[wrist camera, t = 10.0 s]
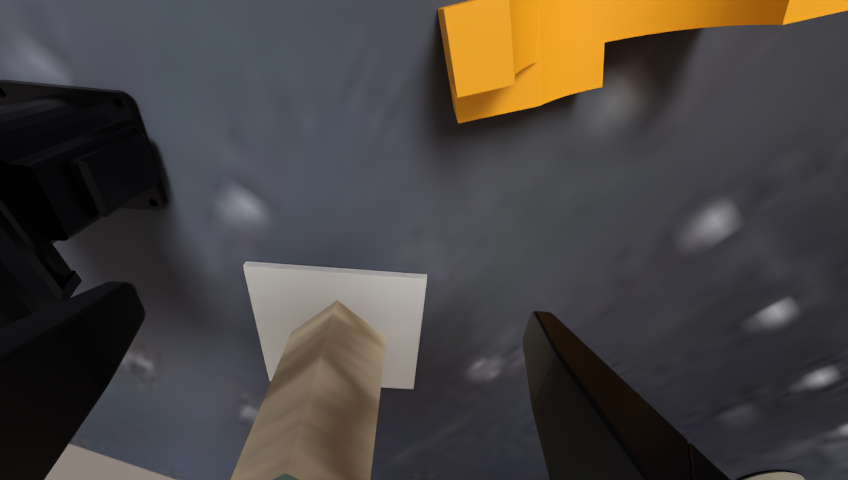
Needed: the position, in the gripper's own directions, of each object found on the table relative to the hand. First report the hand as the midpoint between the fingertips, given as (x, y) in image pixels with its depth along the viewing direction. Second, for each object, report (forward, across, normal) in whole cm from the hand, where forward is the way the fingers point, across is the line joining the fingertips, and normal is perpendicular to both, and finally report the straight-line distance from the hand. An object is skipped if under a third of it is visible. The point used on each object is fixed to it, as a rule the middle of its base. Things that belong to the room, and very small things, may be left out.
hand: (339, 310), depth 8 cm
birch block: (+12, +3, +15) cm, 20 cm away
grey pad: (+13, +3, +15) cm, 20 cm away
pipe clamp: (+13, -8, -6) cm, 17 cm away
